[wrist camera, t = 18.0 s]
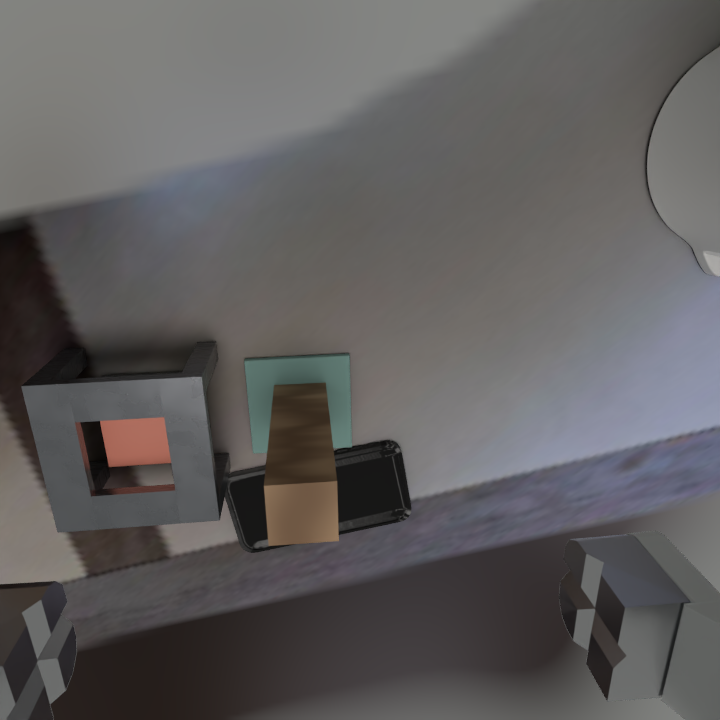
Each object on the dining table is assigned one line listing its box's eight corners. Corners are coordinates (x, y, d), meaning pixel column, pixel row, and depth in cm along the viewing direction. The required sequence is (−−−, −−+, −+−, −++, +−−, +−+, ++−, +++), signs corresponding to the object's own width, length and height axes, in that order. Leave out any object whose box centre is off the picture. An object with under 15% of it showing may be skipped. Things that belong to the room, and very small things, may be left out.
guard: (216, 341, 43) (201, 376, 36) (230, 468, 47) (219, 520, 40) (64, 348, 42) (21, 386, 35) (91, 477, 46) (57, 532, 39)
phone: (413, 518, 50) (243, 555, 49) (410, 511, 51) (244, 546, 50) (399, 440, 47) (219, 478, 46) (397, 434, 48) (220, 471, 47)
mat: (348, 353, 44) (349, 355, 44) (351, 444, 47) (351, 447, 47) (244, 358, 44) (244, 360, 43) (253, 450, 46) (253, 453, 46)
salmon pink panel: (178, 386, 42) (172, 398, 40) (186, 447, 44) (181, 462, 42) (106, 390, 42) (96, 402, 40) (117, 452, 44) (109, 467, 42)
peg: (325, 382, 44) (336, 481, 31) (327, 428, 46) (338, 540, 33) (274, 385, 44) (263, 485, 31) (277, 430, 45) (268, 545, 32)
